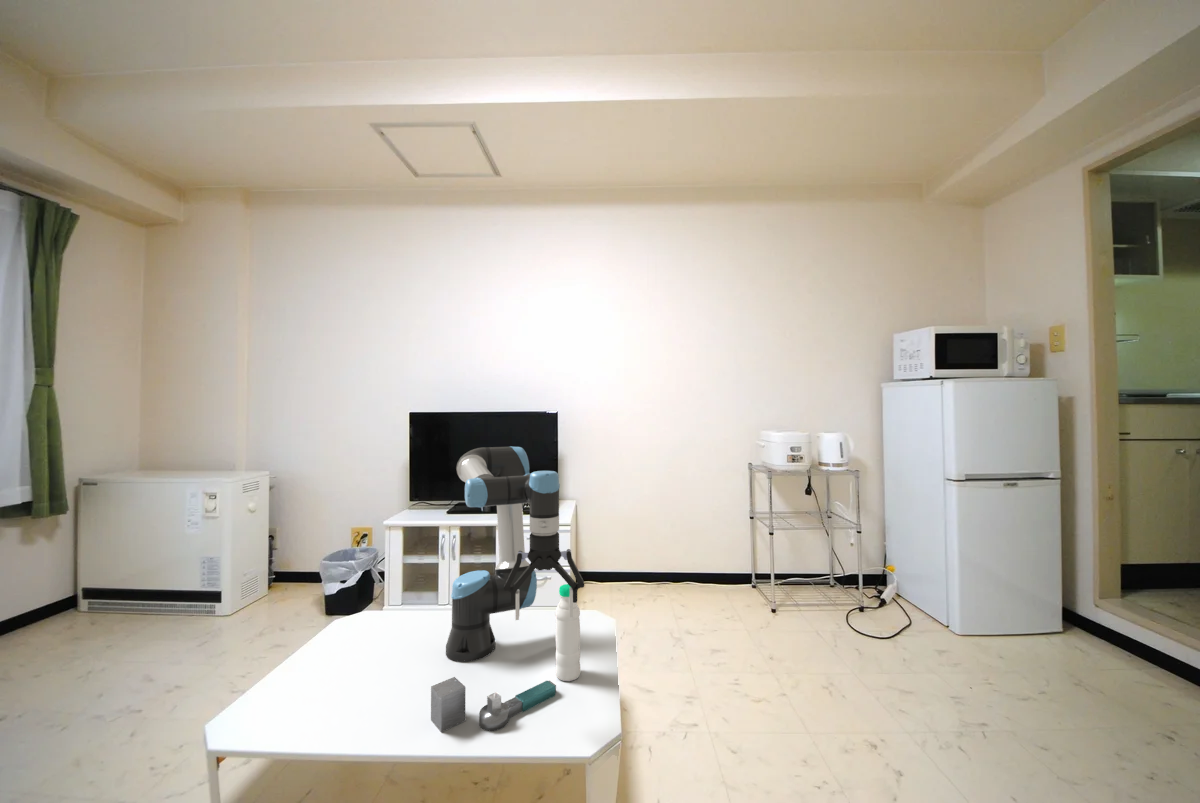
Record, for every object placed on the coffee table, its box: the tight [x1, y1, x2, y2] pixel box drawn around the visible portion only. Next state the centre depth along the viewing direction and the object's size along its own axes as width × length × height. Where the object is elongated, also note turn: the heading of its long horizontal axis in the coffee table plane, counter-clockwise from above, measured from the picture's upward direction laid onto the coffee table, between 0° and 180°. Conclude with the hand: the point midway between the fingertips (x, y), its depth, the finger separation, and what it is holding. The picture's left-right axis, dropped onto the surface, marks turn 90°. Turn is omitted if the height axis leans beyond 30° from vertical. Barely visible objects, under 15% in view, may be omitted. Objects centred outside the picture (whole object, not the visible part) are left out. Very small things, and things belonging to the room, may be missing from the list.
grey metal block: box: [430, 676, 466, 733], centre depth 110 cm, size 6×6×8 cm
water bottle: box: [554, 583, 581, 682], centre depth 130 cm, size 7×7×25 cm
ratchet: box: [478, 680, 557, 732], centre depth 114 cm, size 21×7×6 cm, turn 133°
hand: (544, 616), depth 116 cm, fingers open, 13 cm apart
